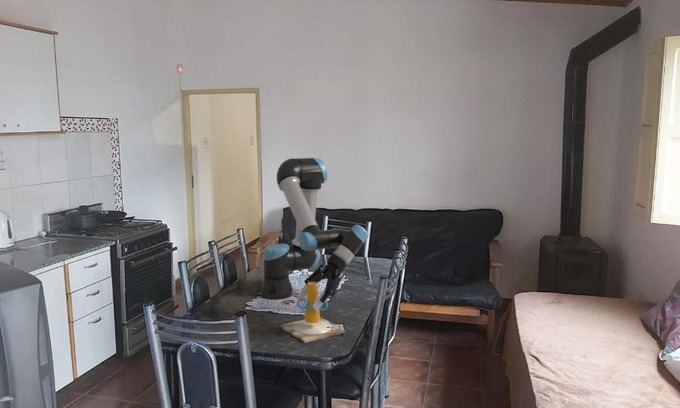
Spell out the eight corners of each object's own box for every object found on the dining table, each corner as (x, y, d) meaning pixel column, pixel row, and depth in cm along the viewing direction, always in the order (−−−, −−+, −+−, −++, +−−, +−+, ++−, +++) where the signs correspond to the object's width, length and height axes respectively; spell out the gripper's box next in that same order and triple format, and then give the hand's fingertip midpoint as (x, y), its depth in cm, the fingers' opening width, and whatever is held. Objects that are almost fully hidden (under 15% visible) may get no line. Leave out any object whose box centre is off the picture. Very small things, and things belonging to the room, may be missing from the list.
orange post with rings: (313, 313, 214) (313, 277, 211) (332, 319, 207) (333, 282, 205) (291, 321, 205) (291, 284, 202) (310, 328, 198) (311, 289, 196)
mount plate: (280, 327, 208) (280, 324, 208) (319, 318, 218) (319, 315, 218) (304, 342, 194) (304, 339, 193) (344, 332, 204) (344, 329, 204)
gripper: (363, 271, 202) (329, 318, 195) (329, 258, 221) (296, 301, 214) (352, 259, 198) (317, 307, 191) (318, 247, 217) (285, 290, 210)
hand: (306, 304), depth 203 cm, fingers closed on orange post with rings, 11 cm apart
